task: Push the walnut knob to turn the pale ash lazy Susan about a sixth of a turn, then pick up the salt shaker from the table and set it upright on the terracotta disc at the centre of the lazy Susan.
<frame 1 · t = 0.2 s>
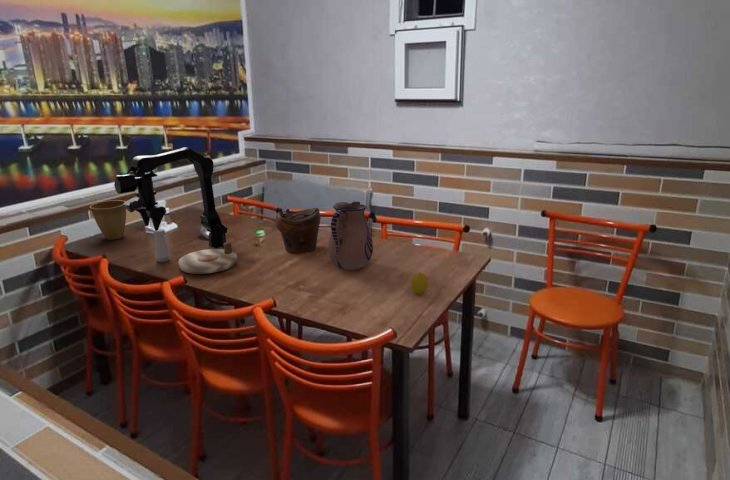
hand: (151, 228, 198), 15 cm above the table, tool pointing down, fingers open, 9 cm apart
lazy susan: (207, 255, 197), point 4 cm above the table, hinge at 0.0°
brown tapered round container: (300, 249, 216), on the table
salt shaker: (163, 260, 204), on the table
lemon: (419, 295, 172), on the table
plant pot: (114, 237, 233), on the table
ceramic pitcher: (349, 268, 195), on the table
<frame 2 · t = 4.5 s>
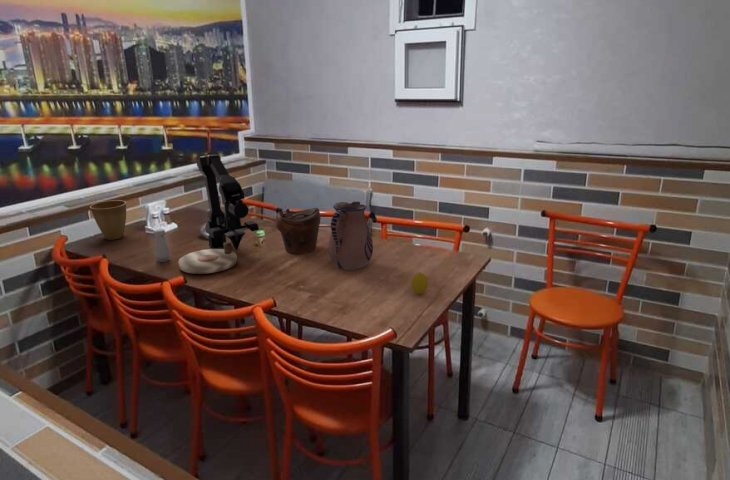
hand: (236, 249, 203), 4 cm above the table, tool pointing down, fingers closed
lazy susan: (207, 255, 197), point 4 cm above the table, hinge at 0.4°, touching gripper
everything else where it was.
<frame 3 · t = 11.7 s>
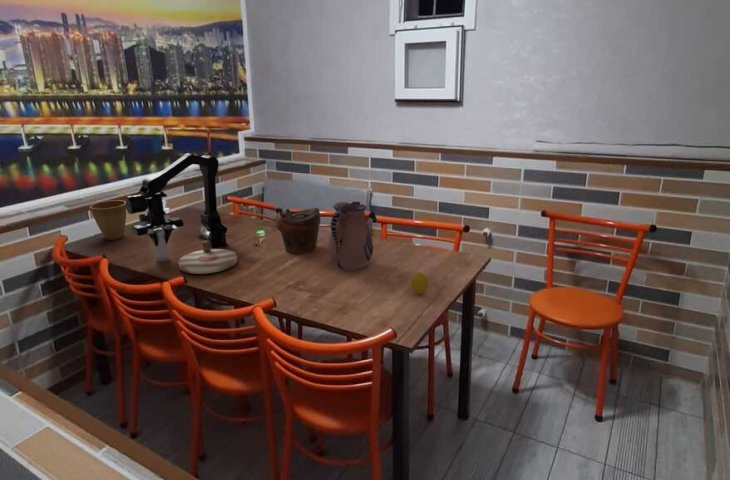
hand: (161, 246, 202), 6 cm above the table, tool pointing down, fingers closed on salt shaker, 3 cm apart
lazy susan: (207, 255, 197), point 4 cm above the table, hinge at 63.6°
salt shaker: (163, 260, 204), on the table, touching gripper
everything else where it was.
when the fingers open (10 cm above the table, at t = 14.9 s): salt shaker stays where it is, resting on lazy susan.
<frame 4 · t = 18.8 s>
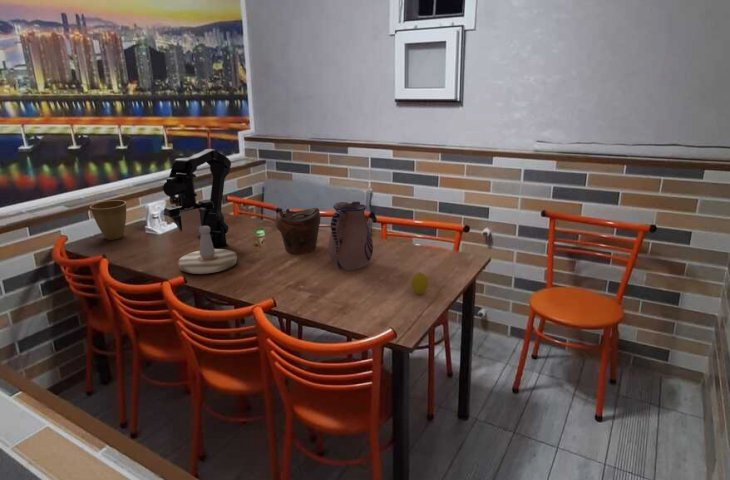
hand: (191, 228, 201), 13 cm above the table, tool pointing down, fingers open, 9 cm apart
lazy susan: (207, 255, 197), point 4 cm above the table, hinge at 63.6°, touching salt shaker
salt shaker: (207, 258, 197), point 3 cm above the table, touching lazy susan
everything else where it was.
at the end: lazy susan at +64° (first picture: +0°); salt shaker 0.1 cm from the lazy susan (horizontally); salt shaker tilted 0° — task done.
